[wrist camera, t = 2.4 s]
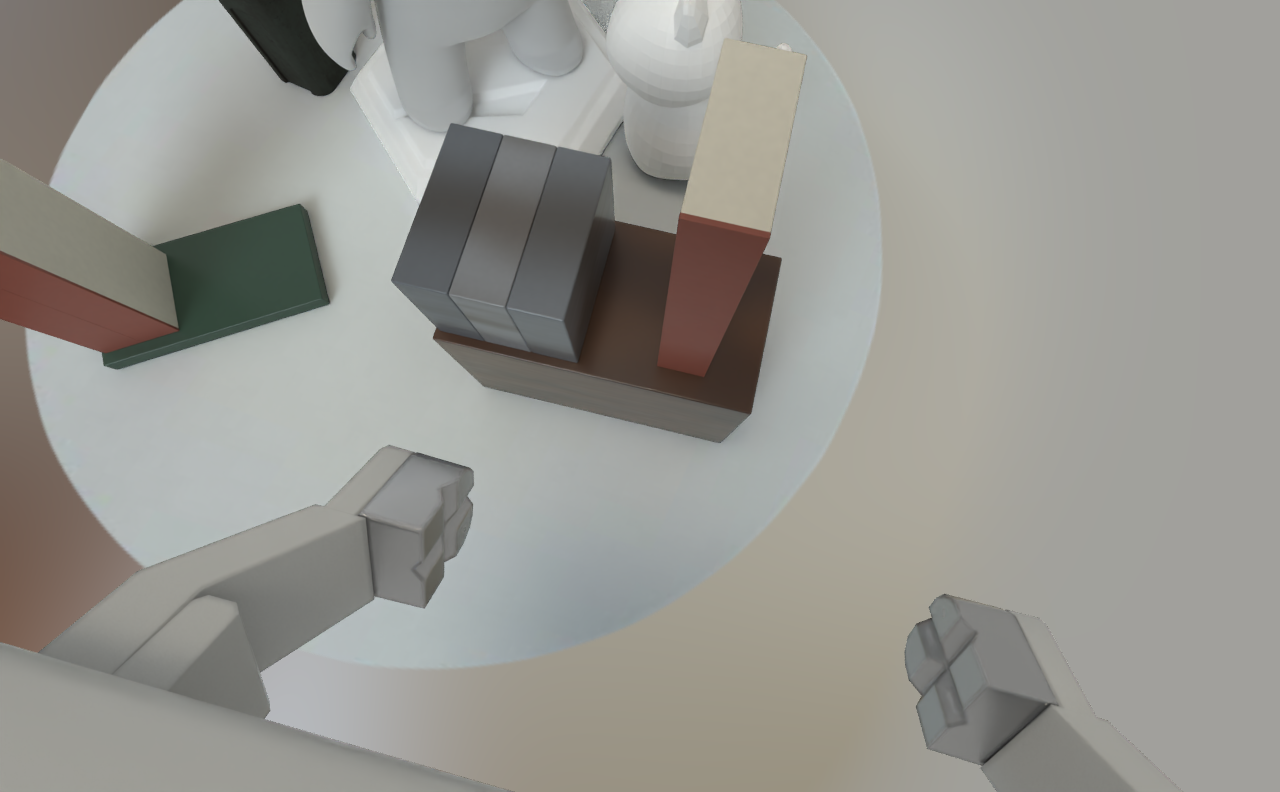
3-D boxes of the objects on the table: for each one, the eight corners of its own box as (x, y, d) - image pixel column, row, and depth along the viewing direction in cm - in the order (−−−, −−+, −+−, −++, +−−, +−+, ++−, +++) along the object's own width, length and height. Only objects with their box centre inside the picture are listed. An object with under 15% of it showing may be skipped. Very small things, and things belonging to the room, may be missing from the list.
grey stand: (720, 443, 38) (782, 384, 22) (482, 386, 38) (380, 290, 23) (745, 323, 40) (818, 192, 24) (519, 271, 40) (448, 111, 25)
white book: (704, 377, 28) (769, 238, 15) (656, 366, 28) (678, 218, 15) (727, 270, 30) (807, 54, 16) (682, 260, 30) (724, 36, 16)
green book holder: (329, 304, 40) (152, 174, 25) (116, 370, 38) (-202, 273, 24) (307, 210, 41) (129, 38, 27) (102, 270, 40) (-203, 123, 25)
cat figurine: (604, 107, 44) (589, -103, 29) (757, 88, 44) (818, -127, 30) (620, 206, 42) (614, 34, 27) (781, 185, 42) (859, 5, 28)
